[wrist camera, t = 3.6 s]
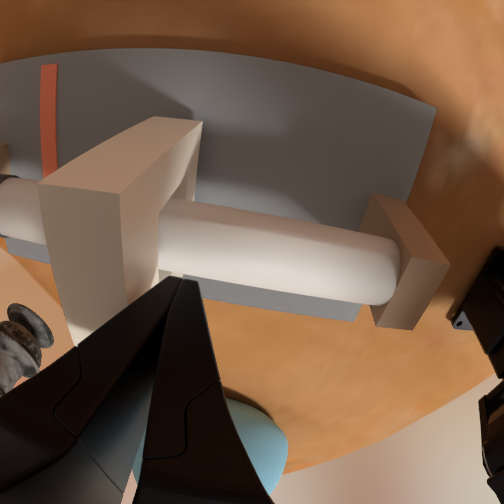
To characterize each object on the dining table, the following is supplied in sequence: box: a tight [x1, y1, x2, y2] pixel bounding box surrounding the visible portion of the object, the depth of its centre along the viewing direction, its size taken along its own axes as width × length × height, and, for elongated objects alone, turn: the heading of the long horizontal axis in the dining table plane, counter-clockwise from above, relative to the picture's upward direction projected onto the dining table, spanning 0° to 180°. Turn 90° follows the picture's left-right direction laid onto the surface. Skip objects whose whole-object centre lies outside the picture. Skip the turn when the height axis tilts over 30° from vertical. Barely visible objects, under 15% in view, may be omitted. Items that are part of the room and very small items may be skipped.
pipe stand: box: [0, 48, 451, 330], centre depth 12 cm, size 22×12×6 cm, turn 81°
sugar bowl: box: [132, 398, 288, 495], centre depth 23 cm, size 15×15×12 cm
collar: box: [37, 116, 203, 347], centre depth 10 cm, size 2×6×7 cm, turn 171°
